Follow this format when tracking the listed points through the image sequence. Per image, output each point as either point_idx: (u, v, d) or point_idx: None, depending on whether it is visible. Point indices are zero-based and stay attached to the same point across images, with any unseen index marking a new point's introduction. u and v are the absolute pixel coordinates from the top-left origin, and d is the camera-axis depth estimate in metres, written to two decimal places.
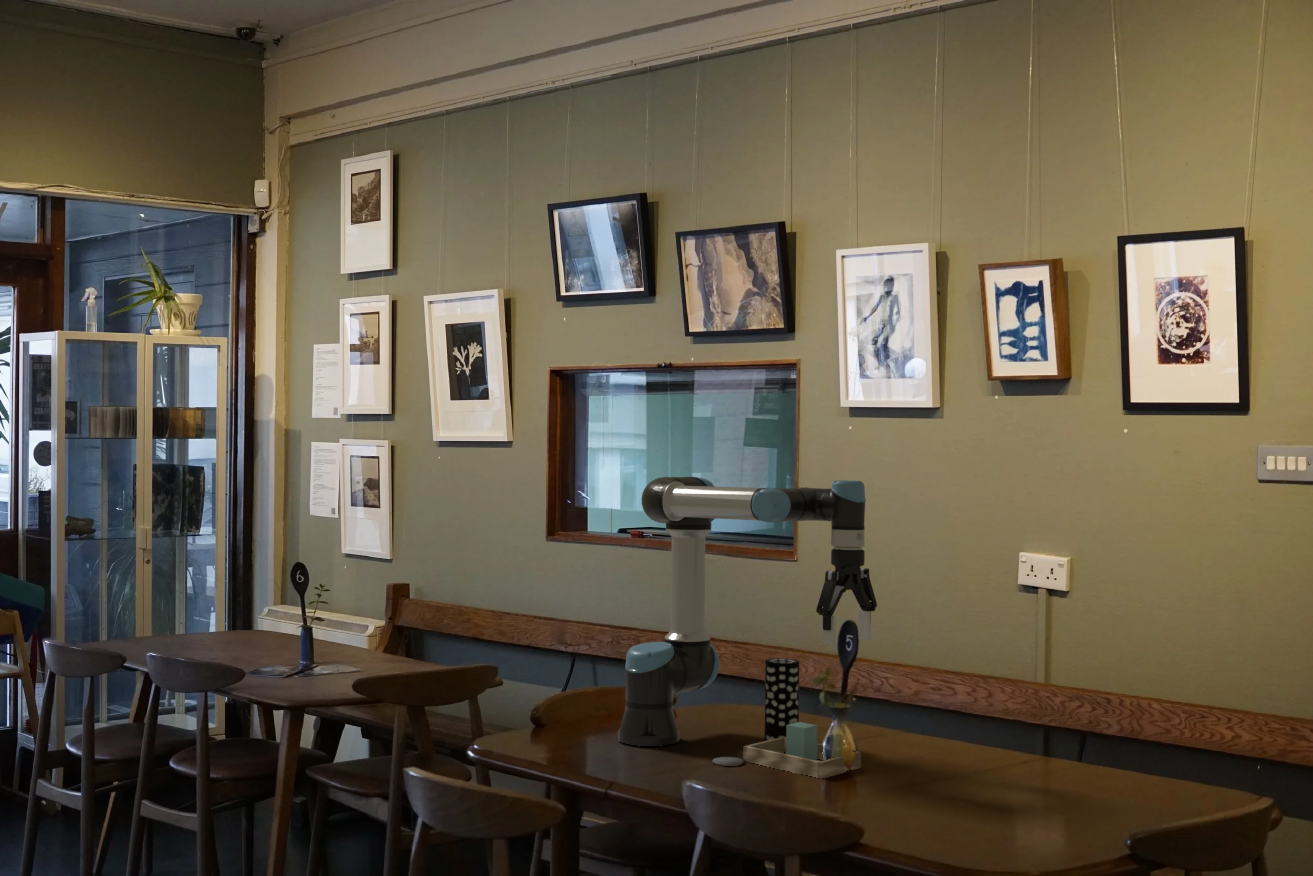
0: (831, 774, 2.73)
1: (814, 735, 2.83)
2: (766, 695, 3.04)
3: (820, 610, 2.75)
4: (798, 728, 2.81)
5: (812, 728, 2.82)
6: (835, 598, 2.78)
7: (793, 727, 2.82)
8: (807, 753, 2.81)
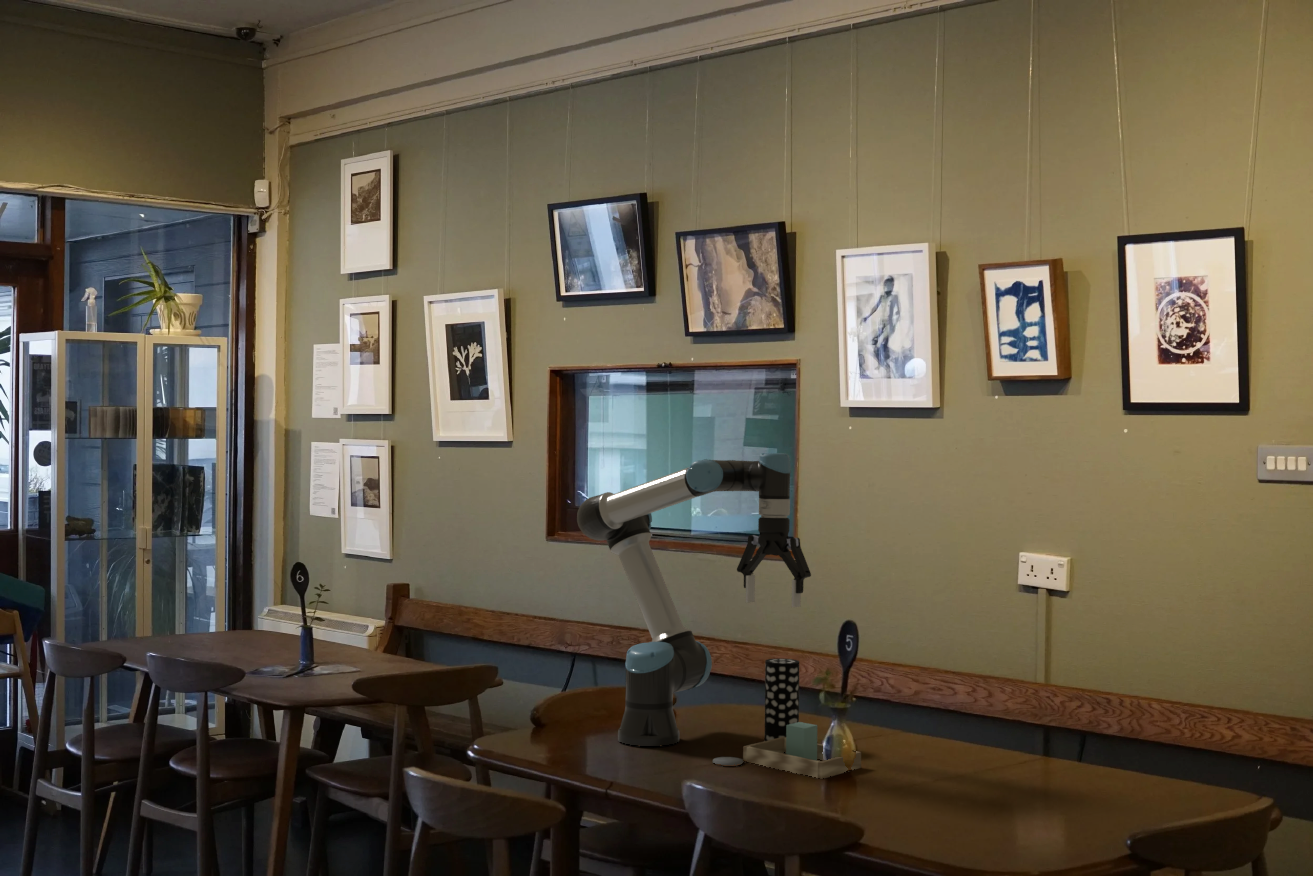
0: (831, 774, 2.73)
1: (814, 735, 2.83)
2: (766, 695, 3.04)
3: None
4: (798, 728, 2.81)
5: (812, 728, 2.82)
6: None
7: (793, 727, 2.82)
8: (807, 753, 2.81)
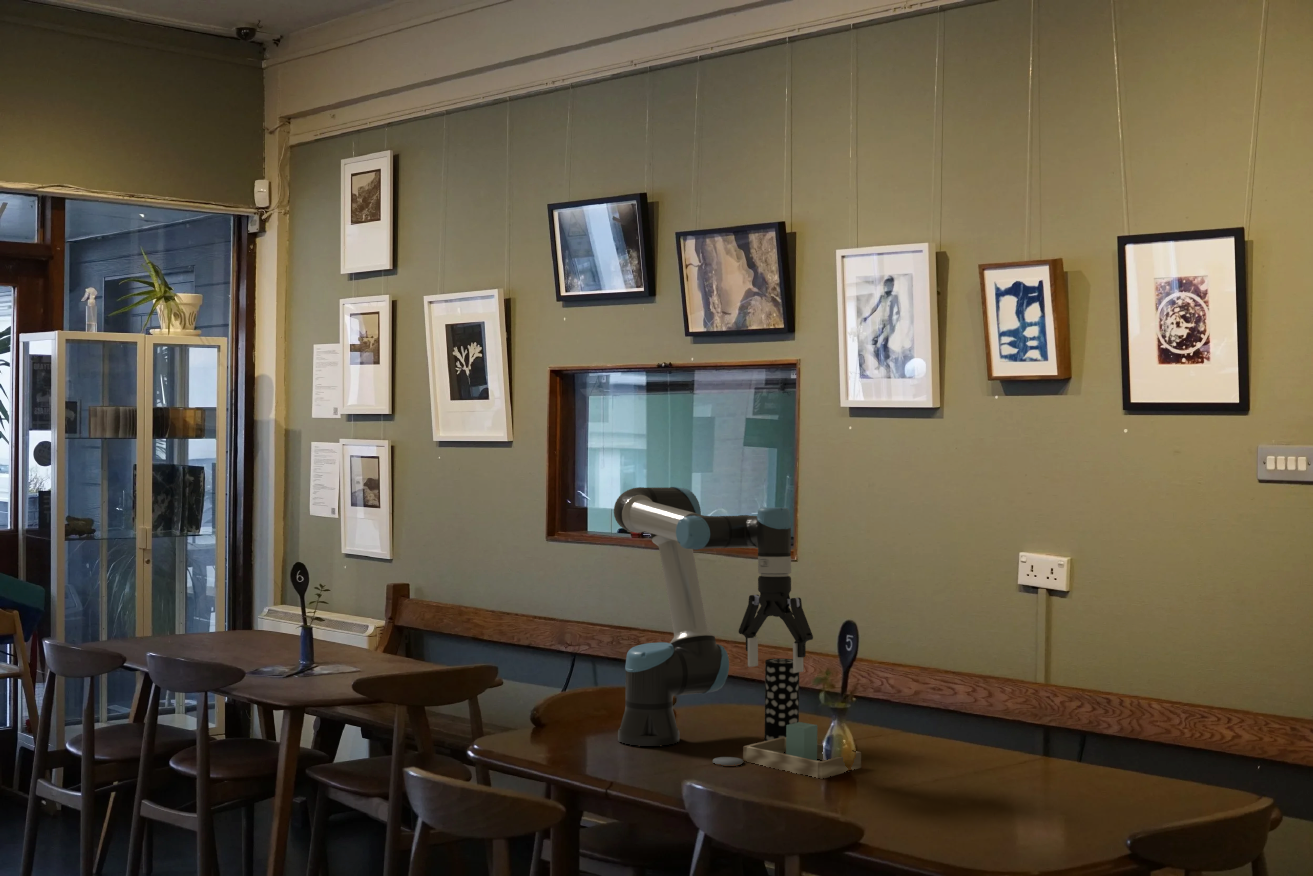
0: (831, 774, 2.73)
1: (814, 735, 2.83)
2: (766, 695, 3.04)
3: None
4: (798, 728, 2.81)
5: (812, 728, 2.82)
6: None
7: (793, 727, 2.82)
8: (807, 753, 2.81)
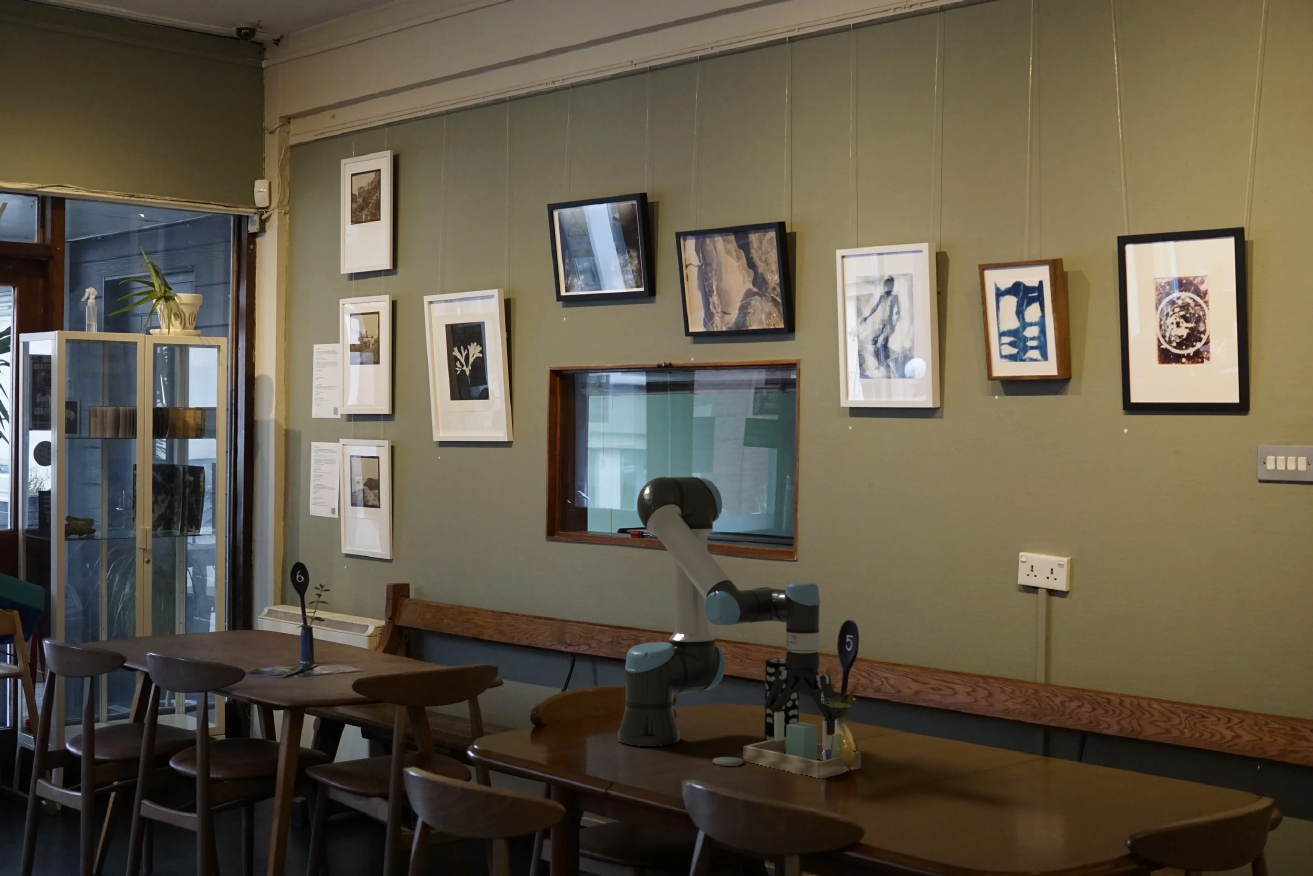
0: (831, 774, 2.73)
1: (814, 735, 2.83)
2: (766, 695, 3.04)
3: None
4: (798, 728, 2.81)
5: (812, 728, 2.82)
6: None
7: (793, 727, 2.82)
8: (807, 753, 2.81)
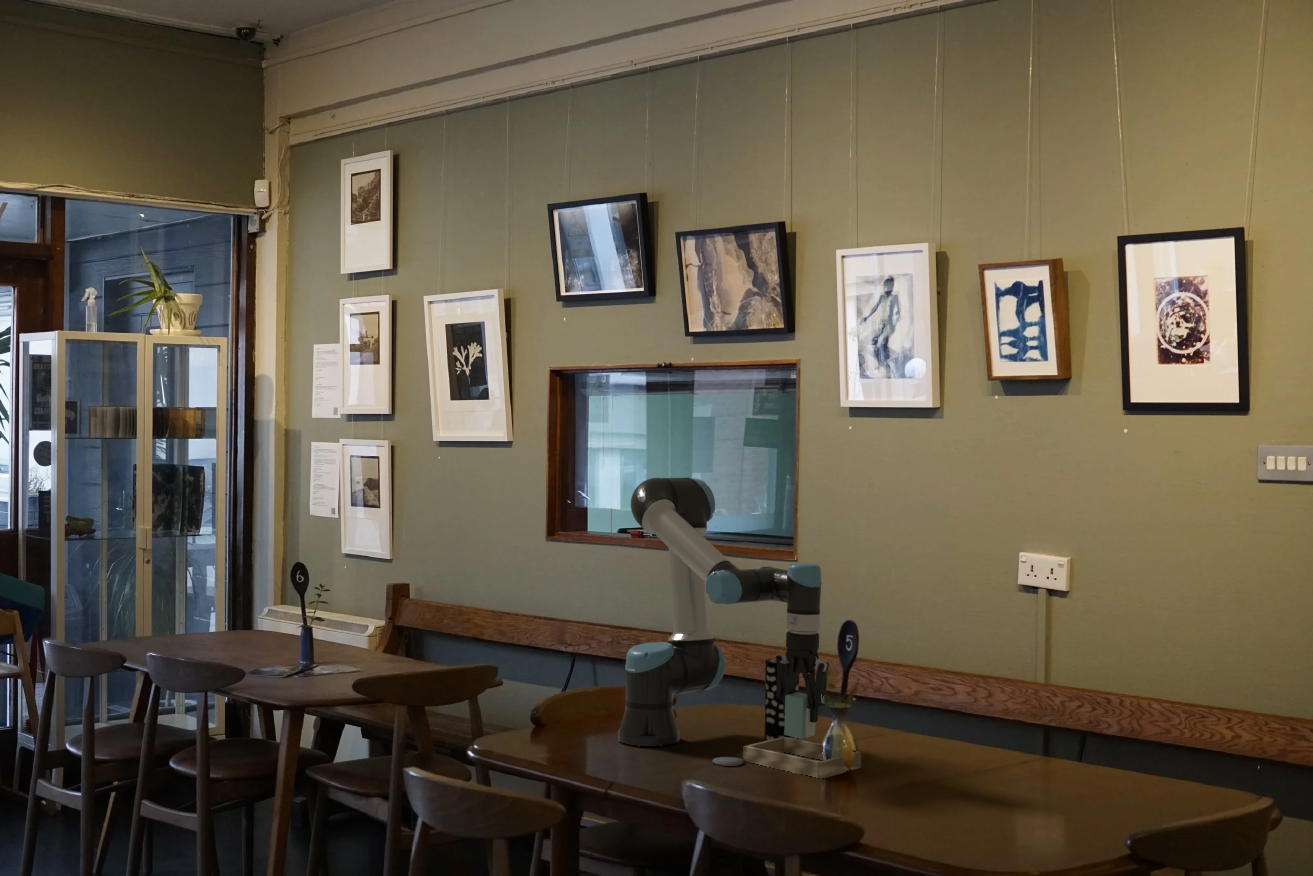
0: (831, 774, 2.73)
1: None
2: (766, 695, 3.04)
3: None
4: (797, 698, 2.81)
5: None
6: None
7: (792, 697, 2.82)
8: None
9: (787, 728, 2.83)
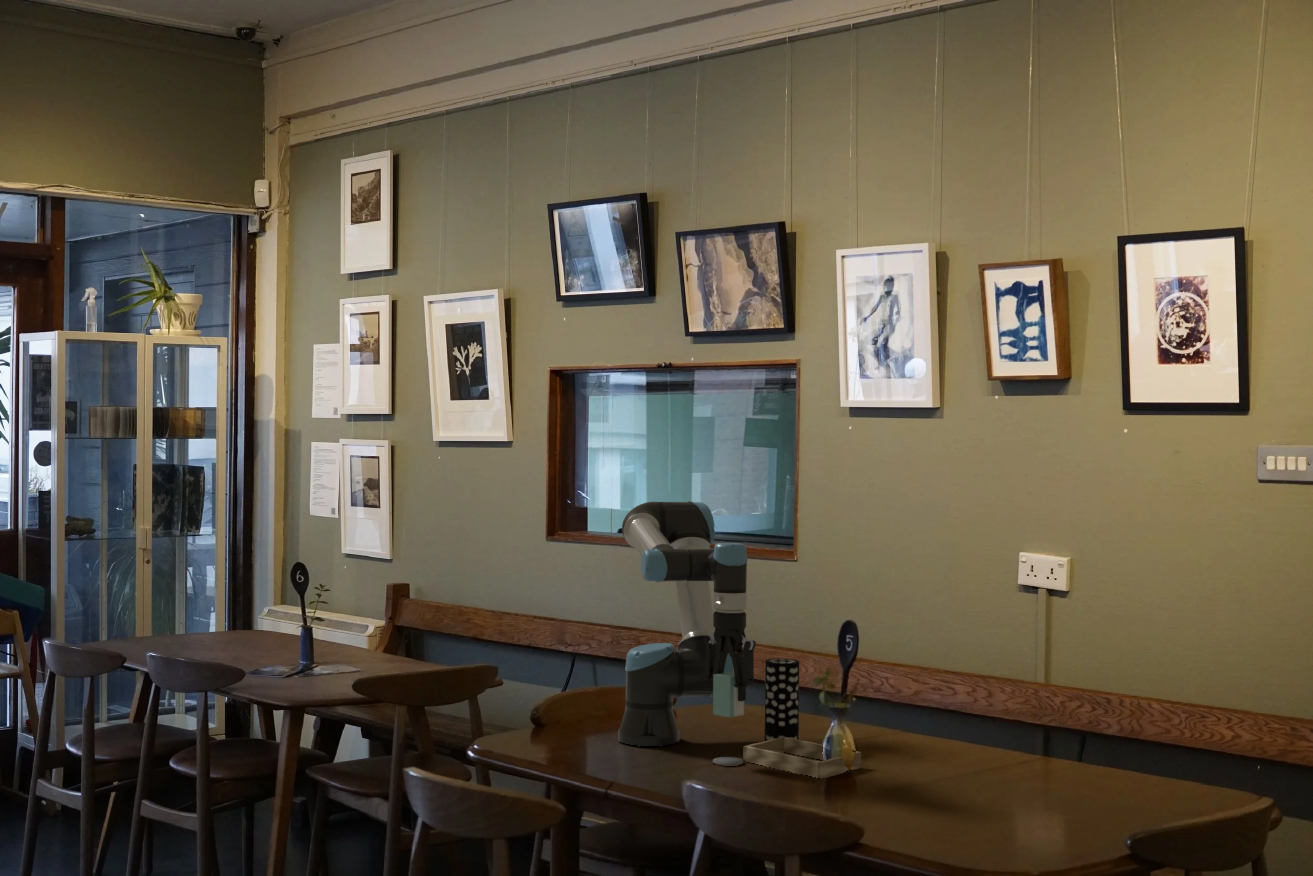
0: (831, 774, 2.73)
1: None
2: (766, 695, 3.04)
3: None
4: (724, 677, 2.82)
5: None
6: None
7: (720, 676, 2.83)
8: (733, 702, 2.81)
9: (715, 707, 2.83)
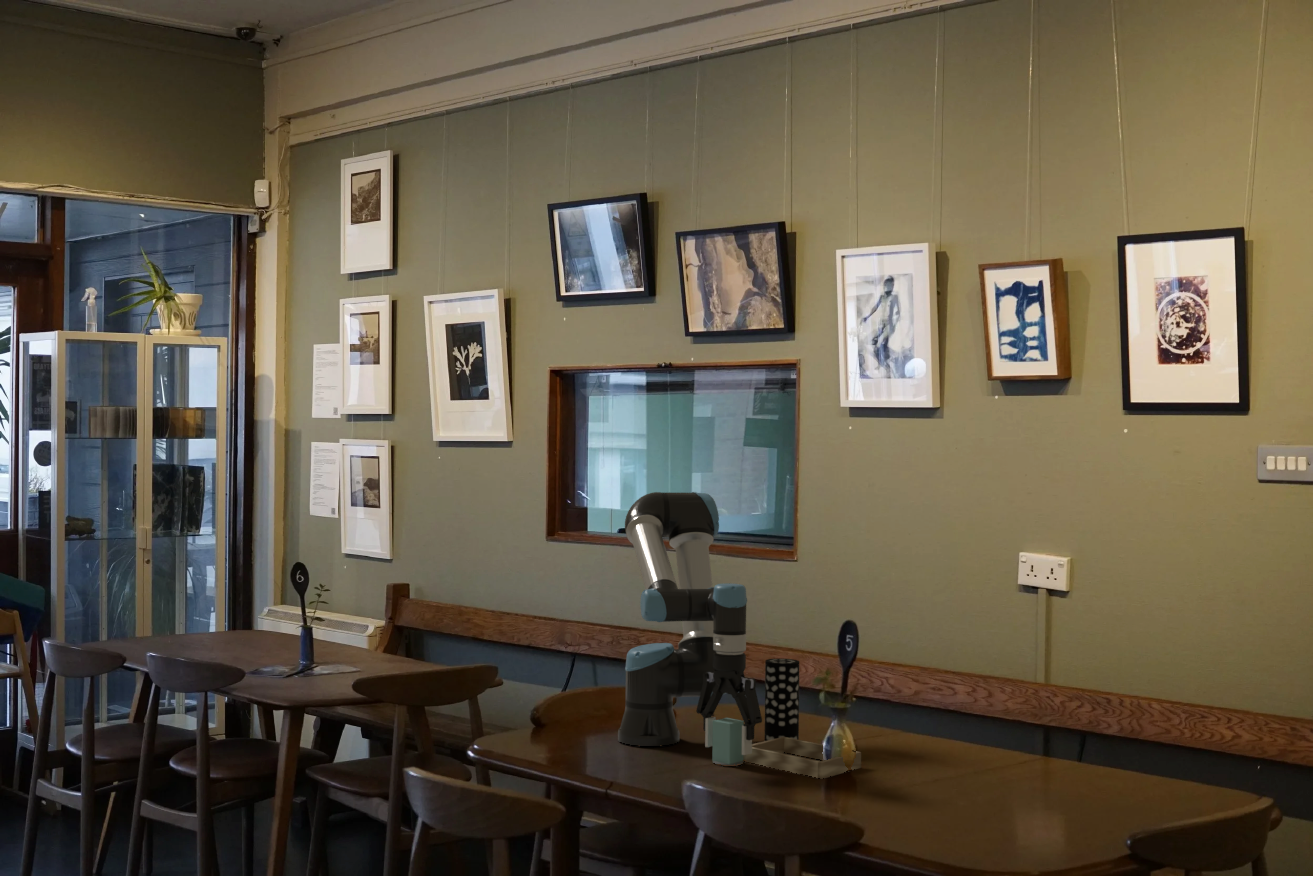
0: (831, 774, 2.73)
1: (740, 731, 2.83)
2: (766, 695, 3.04)
3: None
4: (724, 724, 2.82)
5: (738, 724, 2.83)
6: None
7: (719, 723, 2.82)
8: (733, 748, 2.81)
9: (715, 754, 2.83)
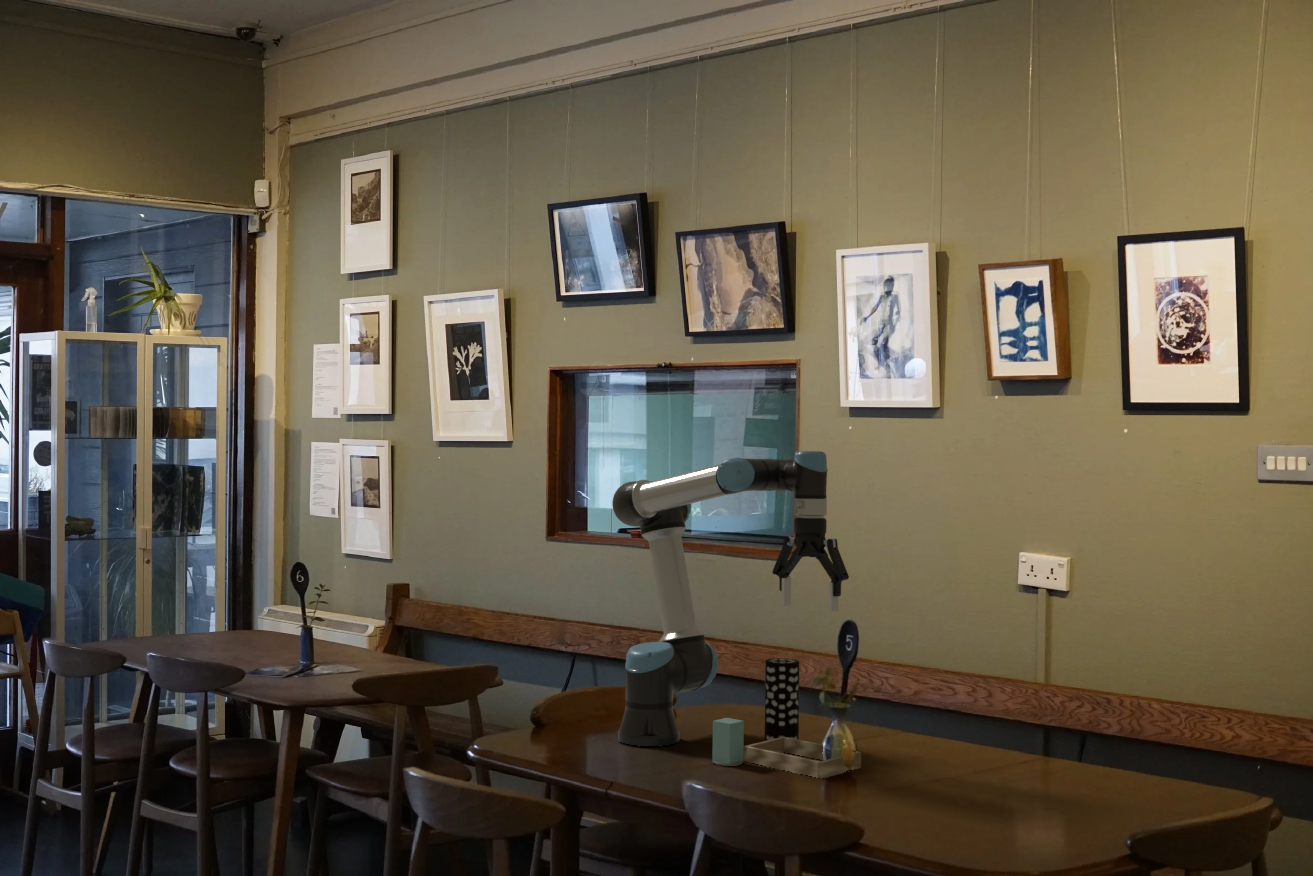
0: (831, 774, 2.73)
1: (740, 731, 2.83)
2: (766, 695, 3.04)
3: None
4: (724, 724, 2.82)
5: (738, 724, 2.83)
6: None
7: (719, 723, 2.82)
8: (733, 748, 2.81)
9: (715, 754, 2.83)
